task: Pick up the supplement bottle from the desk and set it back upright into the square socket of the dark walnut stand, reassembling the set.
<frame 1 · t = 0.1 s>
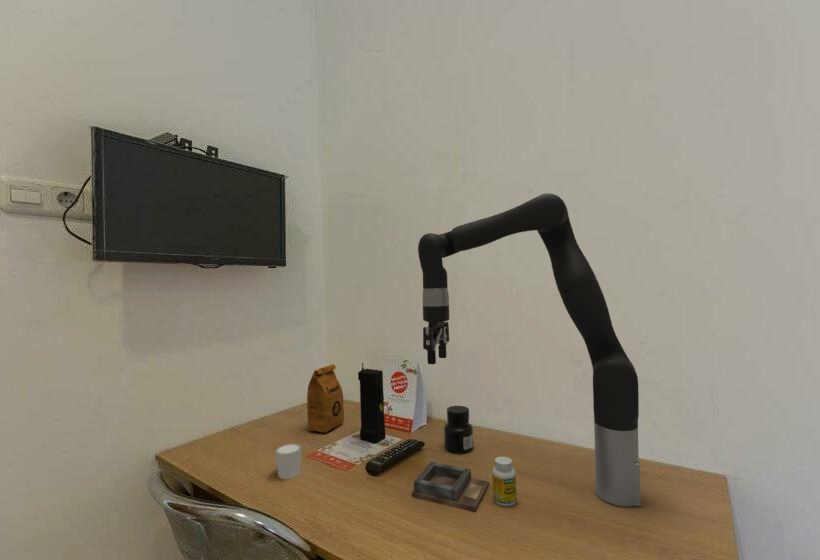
hand: (437, 360, 112), 29 cm above the table, tool pointing down, fingers open, 8 cm apart
portable radio: (374, 439, 130), on the table
supplement bottle: (504, 501, 93), on the table
coffee package: (326, 428, 141), on the table
white tapered cylinder: (289, 474, 108), on the table
socket stand: (451, 490, 97), on the table
ink bottle: (458, 448, 122), on the table
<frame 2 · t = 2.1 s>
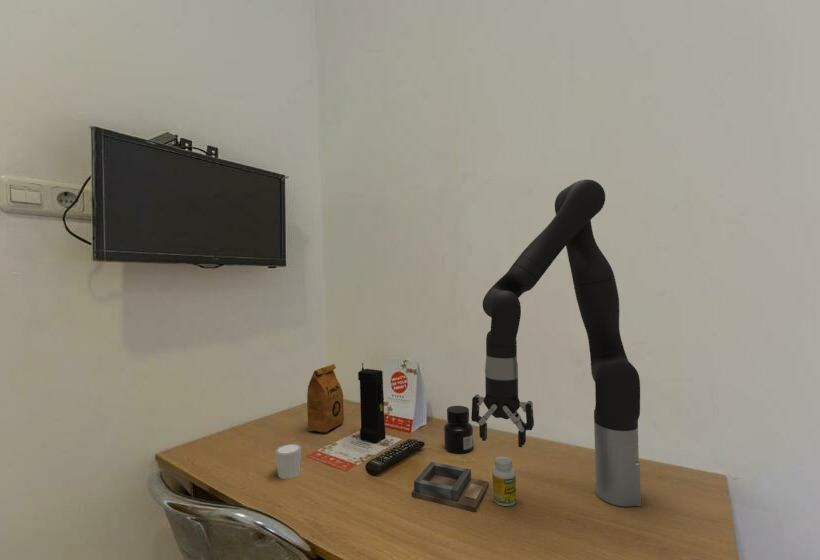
hand: (502, 442, 93), 14 cm above the table, tool pointing down, fingers open, 8 cm apart
nothing on the table moved.
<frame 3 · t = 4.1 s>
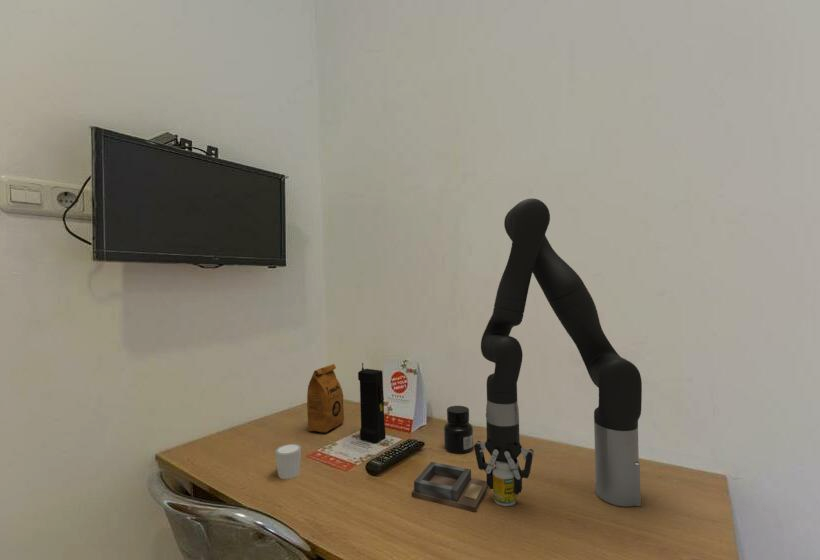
hand: (504, 489, 93), 2 cm above the table, tool pointing down, fingers closed on supplement bottle, 5 cm apart
supplement bottle: (504, 501, 93), on the table, touching gripper
everything else where it was.
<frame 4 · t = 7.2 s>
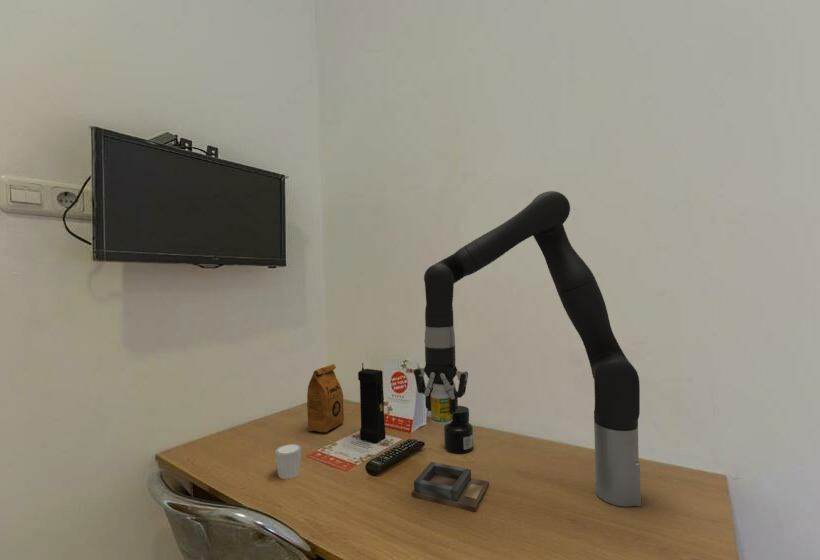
hand: (441, 411, 98), 20 cm above the table, tool pointing down, fingers closed on supplement bottle, 5 cm apart
supplement bottle: (441, 422, 98), point 17 cm above the table, touching gripper
everything else where it was.
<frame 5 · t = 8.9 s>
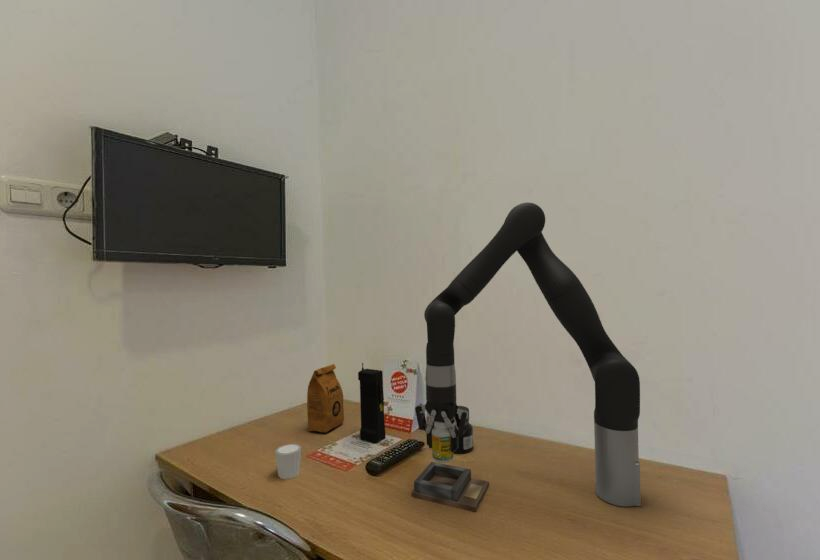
hand: (442, 448, 98), 10 cm above the table, tool pointing down, fingers closed on supplement bottle, 5 cm apart
supplement bottle: (442, 459, 98), point 7 cm above the table, touching gripper
everything else where it was.
when the fingers open (5 cm above the table, at t = 10.4 s): supplement bottle drops 1 cm, resting on socket stand.
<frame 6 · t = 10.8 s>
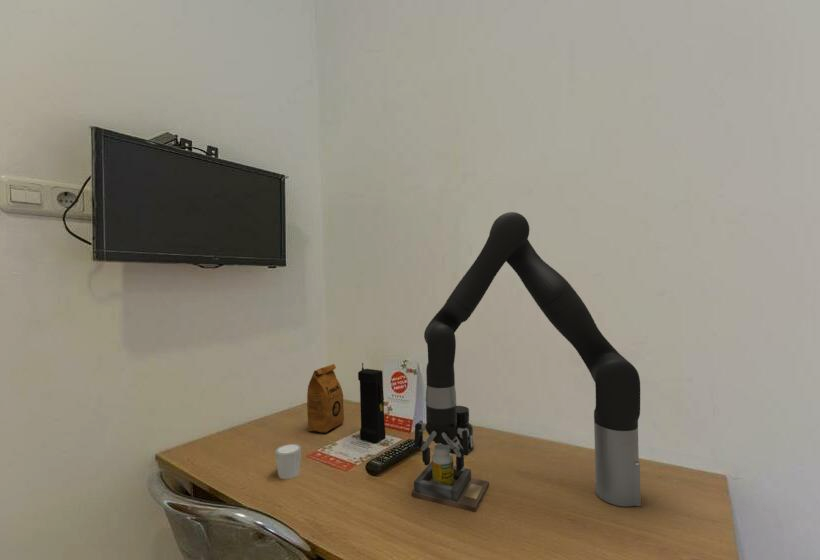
hand: (442, 467, 98), 6 cm above the table, tool pointing down, fingers open, 8 cm apart
supplement bottle: (443, 485, 98), point 1 cm above the table, touching socket stand
everything else where it was.
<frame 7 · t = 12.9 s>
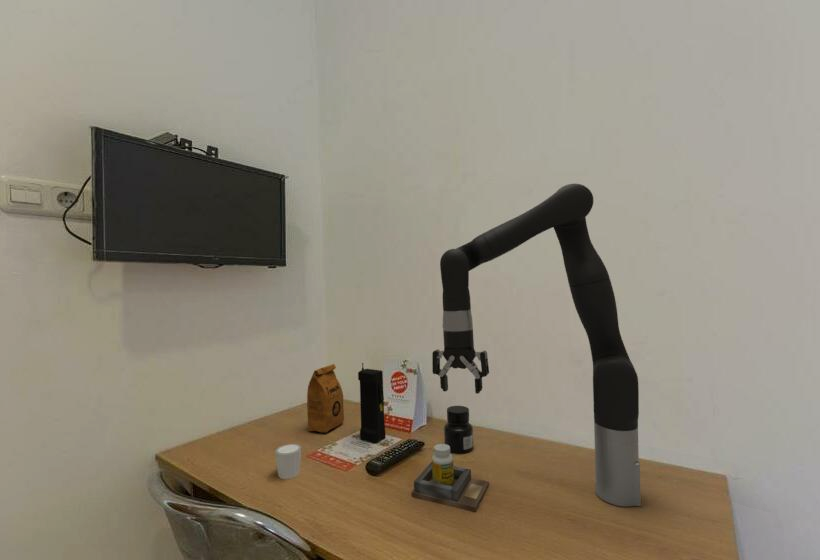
hand: (461, 391, 100), 24 cm above the table, tool pointing down, fingers open, 8 cm apart
nothing on the table moved.
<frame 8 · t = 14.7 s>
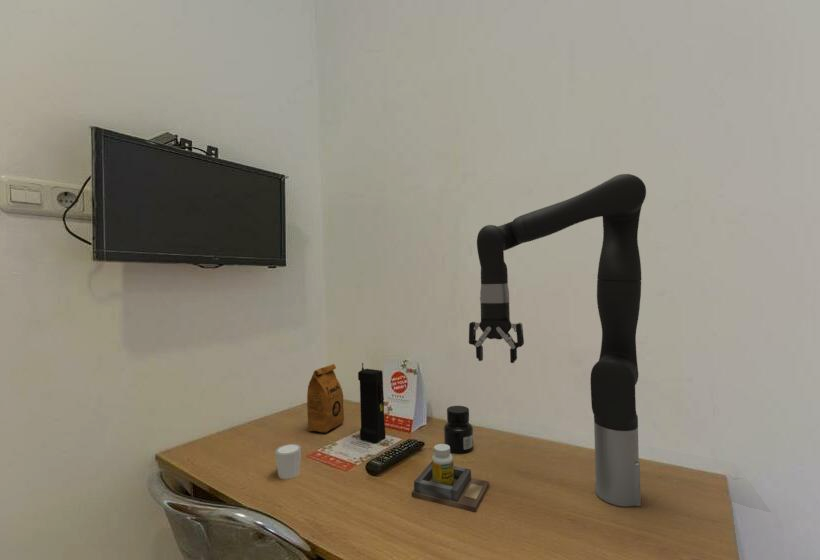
hand: (496, 361, 105), 30 cm above the table, tool pointing down, fingers open, 8 cm apart
nothing on the table moved.
at the end: supplement bottle 0.1 cm from the target spot on the socket stand, point 0.8 cm above the socket stand's base; supplement bottle tilted 0°; the gripper is holding nothing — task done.
